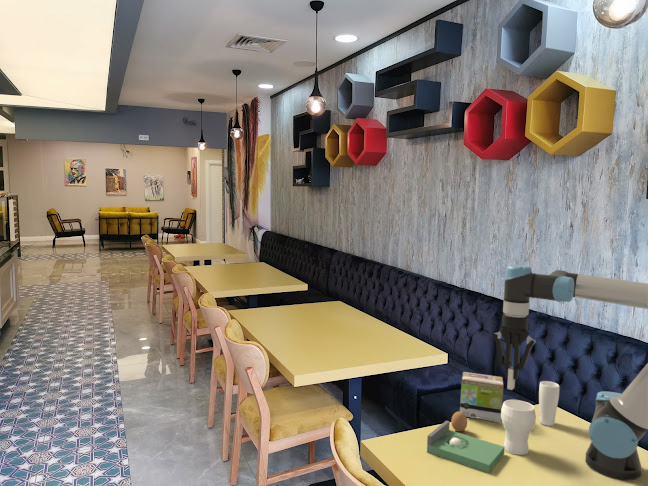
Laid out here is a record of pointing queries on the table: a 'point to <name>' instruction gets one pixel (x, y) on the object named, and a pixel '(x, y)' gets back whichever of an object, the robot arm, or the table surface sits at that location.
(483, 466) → the green
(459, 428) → the egg
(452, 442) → the ball
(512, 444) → the cup
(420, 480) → the table surface
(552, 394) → the drinking glass
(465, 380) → the tea box
